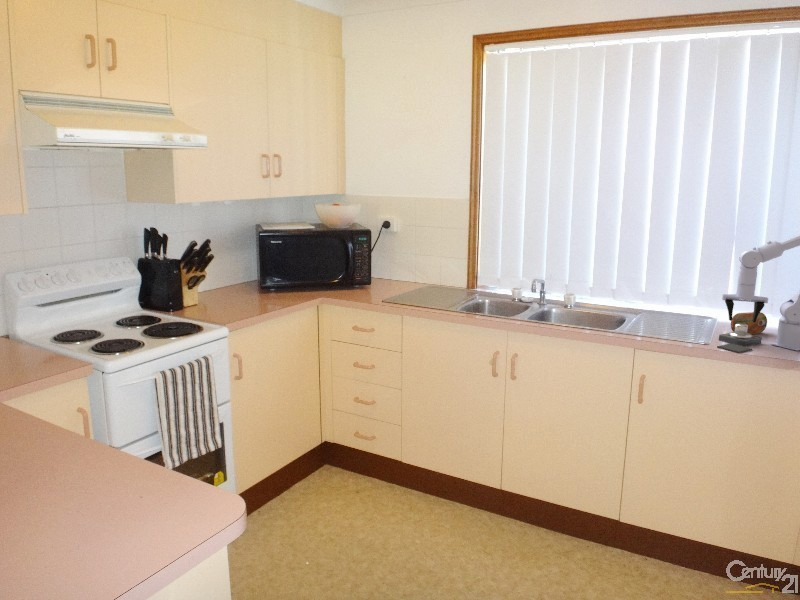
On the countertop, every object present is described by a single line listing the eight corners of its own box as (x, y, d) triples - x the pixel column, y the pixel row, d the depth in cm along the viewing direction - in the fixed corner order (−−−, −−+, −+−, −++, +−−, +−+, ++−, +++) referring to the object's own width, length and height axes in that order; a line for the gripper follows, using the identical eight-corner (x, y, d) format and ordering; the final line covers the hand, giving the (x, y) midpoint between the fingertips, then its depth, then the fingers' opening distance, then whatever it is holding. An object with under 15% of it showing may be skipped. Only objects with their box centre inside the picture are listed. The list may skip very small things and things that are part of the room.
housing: (761, 343, 235) (761, 337, 235) (744, 346, 230) (745, 341, 230) (734, 336, 244) (735, 331, 243) (718, 340, 239) (719, 334, 238)
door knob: (755, 342, 236) (757, 325, 234) (743, 344, 232) (745, 328, 231) (736, 337, 242) (738, 321, 240) (724, 340, 238) (726, 323, 237)
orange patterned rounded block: (734, 335, 246) (736, 314, 244) (727, 333, 249) (730, 312, 247) (766, 333, 250) (769, 312, 248) (760, 331, 253) (762, 310, 251)
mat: (752, 350, 226) (752, 348, 226) (738, 353, 222) (738, 351, 222) (730, 344, 232) (730, 343, 232) (717, 347, 228) (717, 346, 228)
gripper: (767, 283, 234) (762, 320, 237) (722, 280, 239) (718, 316, 241) (771, 286, 227) (766, 324, 230) (725, 283, 232) (721, 320, 235)
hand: (742, 320), depth 235 cm, fingers open, 7 cm apart
